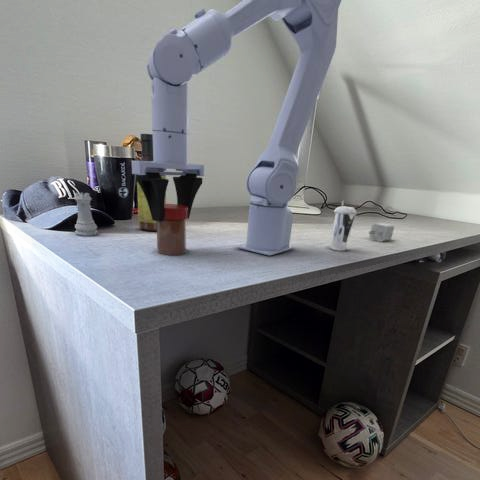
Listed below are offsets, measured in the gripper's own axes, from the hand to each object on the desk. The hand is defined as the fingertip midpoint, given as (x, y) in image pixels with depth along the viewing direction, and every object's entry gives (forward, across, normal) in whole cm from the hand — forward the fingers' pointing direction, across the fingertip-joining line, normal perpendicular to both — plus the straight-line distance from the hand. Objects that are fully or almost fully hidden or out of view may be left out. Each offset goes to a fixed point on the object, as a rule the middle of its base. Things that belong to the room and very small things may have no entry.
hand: (171, 219), depth 62 cm
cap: (-2, 0, 0) cm, 2 cm away
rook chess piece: (+6, +4, -21) cm, 22 cm away
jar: (+6, 0, 0) cm, 6 cm away
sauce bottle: (+6, -11, -18) cm, 22 cm away
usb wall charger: (+6, -51, +23) cm, 56 cm away
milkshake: (+6, -31, +20) cm, 37 cm away
